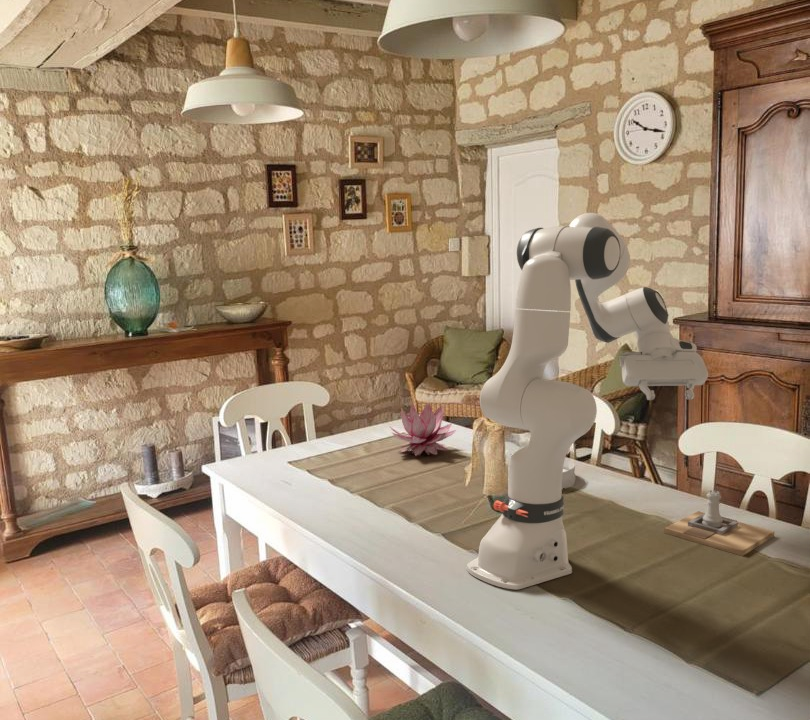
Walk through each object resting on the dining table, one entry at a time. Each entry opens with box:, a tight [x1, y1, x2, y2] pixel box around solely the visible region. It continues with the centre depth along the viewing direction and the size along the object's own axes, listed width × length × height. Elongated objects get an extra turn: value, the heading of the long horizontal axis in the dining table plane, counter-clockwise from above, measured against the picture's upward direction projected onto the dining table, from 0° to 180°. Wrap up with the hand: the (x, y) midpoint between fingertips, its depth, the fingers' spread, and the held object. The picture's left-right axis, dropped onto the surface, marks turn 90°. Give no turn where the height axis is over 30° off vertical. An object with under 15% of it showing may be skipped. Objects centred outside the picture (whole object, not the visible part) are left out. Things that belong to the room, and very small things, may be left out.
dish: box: [562, 457, 576, 489], centre depth 212 cm, size 22×22×5 cm
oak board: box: [663, 511, 775, 557], centre depth 170 cm, size 16×18×2 cm
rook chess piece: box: [702, 490, 723, 528], centre depth 171 cm, size 4×4×8 cm
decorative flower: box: [389, 402, 457, 456], centre depth 240 cm, size 21×21×15 cm
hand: (671, 398), depth 178 cm, fingers open, 8 cm apart
